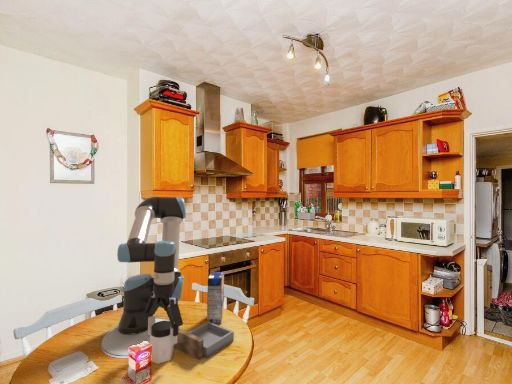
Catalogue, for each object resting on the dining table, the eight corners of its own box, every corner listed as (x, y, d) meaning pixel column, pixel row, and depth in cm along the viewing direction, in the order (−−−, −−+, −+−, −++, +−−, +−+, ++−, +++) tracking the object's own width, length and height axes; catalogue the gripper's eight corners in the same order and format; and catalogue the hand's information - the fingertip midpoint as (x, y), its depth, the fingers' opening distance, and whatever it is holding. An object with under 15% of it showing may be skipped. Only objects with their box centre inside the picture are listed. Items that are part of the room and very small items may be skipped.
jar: (151, 366, 96) (152, 332, 96) (146, 355, 103) (147, 323, 103) (176, 359, 101) (177, 326, 101) (170, 348, 108) (171, 318, 108)
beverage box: (206, 324, 129) (207, 278, 130) (210, 314, 140) (211, 272, 141) (220, 324, 130) (222, 278, 130) (223, 314, 140) (224, 272, 141)
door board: (168, 345, 110) (168, 328, 110) (174, 342, 112) (175, 325, 113) (197, 361, 100) (198, 342, 100) (204, 357, 102) (204, 338, 103)
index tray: (180, 345, 110) (180, 335, 110) (208, 330, 123) (208, 321, 123) (206, 358, 102) (207, 348, 102) (233, 340, 115) (233, 331, 115)
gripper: (136, 278, 107) (134, 332, 106) (177, 291, 92) (175, 354, 92) (152, 274, 113) (151, 325, 112) (193, 286, 99) (192, 344, 98)
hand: (162, 338), depth 102 cm, fingers open, 13 cm apart
